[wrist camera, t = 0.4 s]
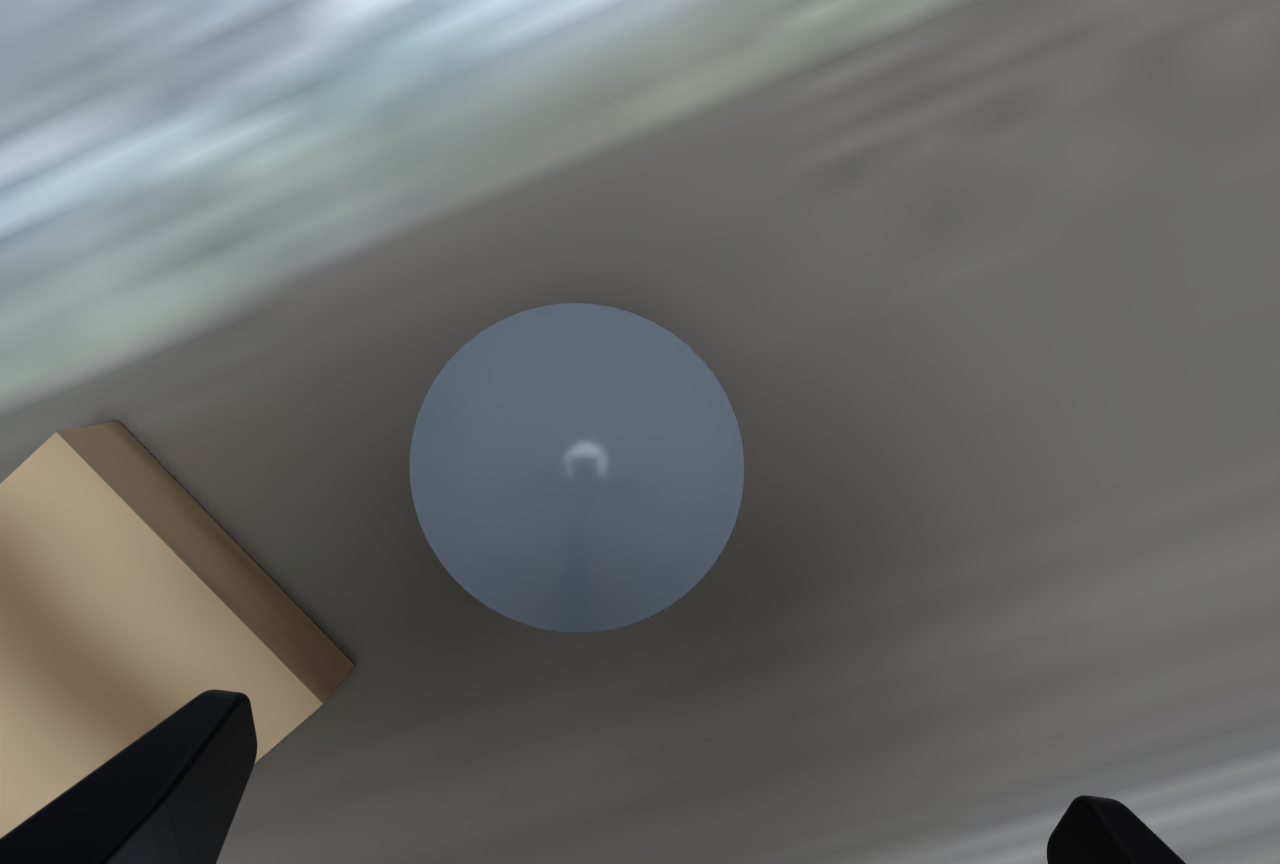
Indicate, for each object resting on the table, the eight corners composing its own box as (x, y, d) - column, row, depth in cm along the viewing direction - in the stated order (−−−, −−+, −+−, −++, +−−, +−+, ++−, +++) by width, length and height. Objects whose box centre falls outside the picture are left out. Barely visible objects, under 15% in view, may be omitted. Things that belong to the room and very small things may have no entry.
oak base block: (124, 865, 25) (69, 924, 22) (-114, 636, 24) (-201, 672, 21) (355, 665, 24) (323, 704, 22) (118, 421, 23) (56, 432, 21)
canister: (595, 527, 24) (563, 696, 13) (478, 396, 23) (339, 456, 12) (727, 414, 23) (812, 487, 12) (611, 279, 23) (591, 230, 12)
